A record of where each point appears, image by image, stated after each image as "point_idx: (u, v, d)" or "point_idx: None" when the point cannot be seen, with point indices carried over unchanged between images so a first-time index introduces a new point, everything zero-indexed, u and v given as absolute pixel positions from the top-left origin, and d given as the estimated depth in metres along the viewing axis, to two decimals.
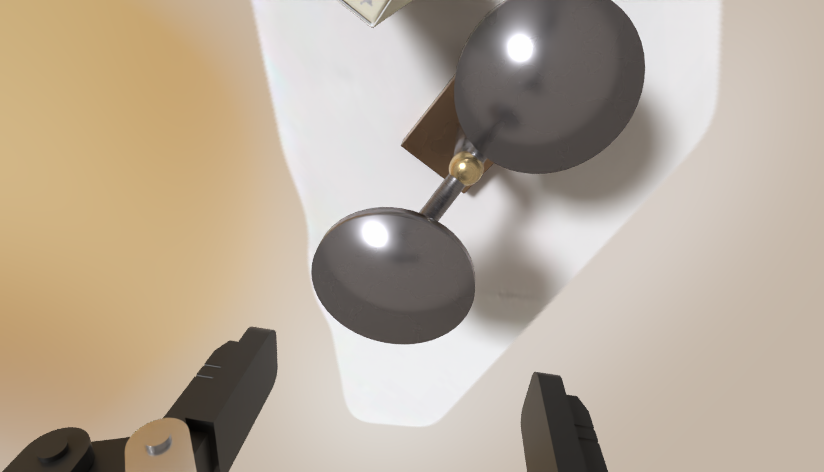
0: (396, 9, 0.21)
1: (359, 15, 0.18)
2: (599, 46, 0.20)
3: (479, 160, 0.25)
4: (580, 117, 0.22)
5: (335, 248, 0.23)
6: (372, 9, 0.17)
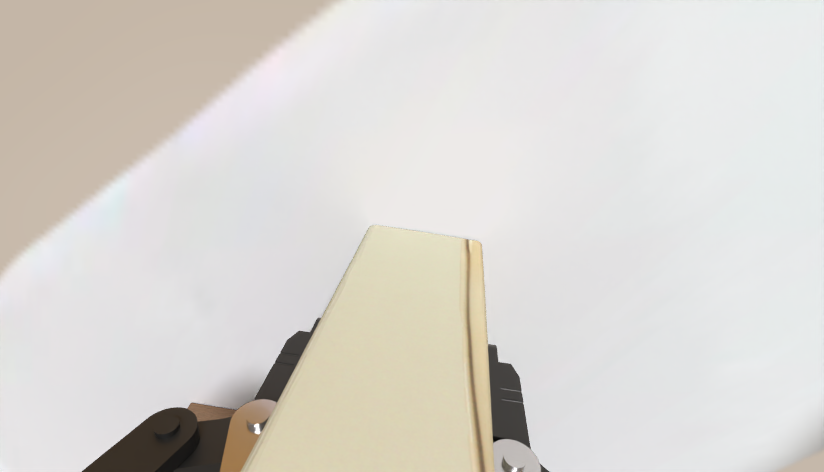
0: None
1: None
2: None
3: None
4: None
5: None
6: None
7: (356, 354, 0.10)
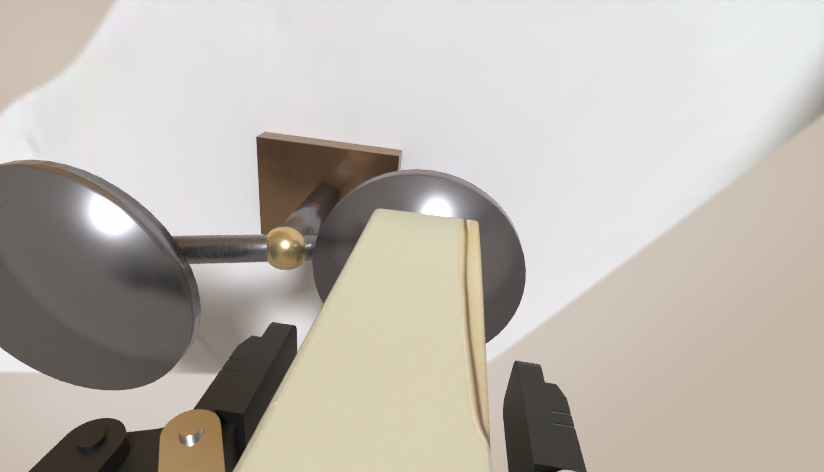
0: None
1: None
2: (483, 296, 0.19)
3: (305, 256, 0.20)
4: None
5: (34, 193, 0.14)
6: None
7: (366, 312, 0.11)
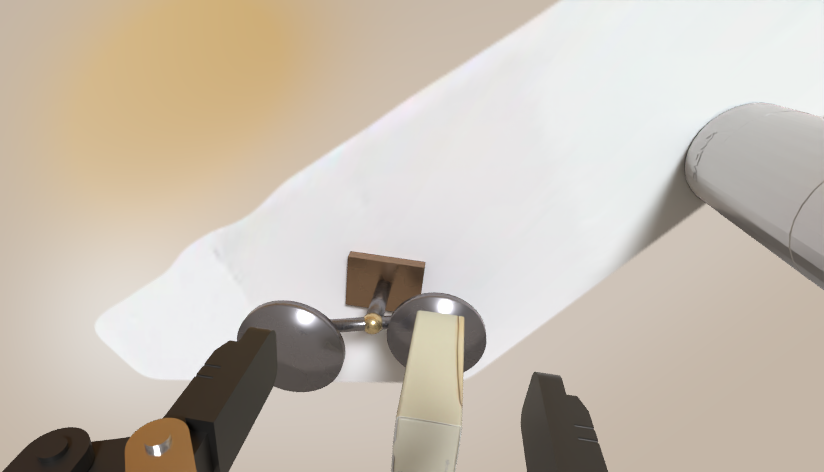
0: None
1: None
2: (467, 348, 0.40)
3: (382, 327, 0.41)
4: None
5: (289, 315, 0.35)
6: None
7: (423, 366, 0.32)
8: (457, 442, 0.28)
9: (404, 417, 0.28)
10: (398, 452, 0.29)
